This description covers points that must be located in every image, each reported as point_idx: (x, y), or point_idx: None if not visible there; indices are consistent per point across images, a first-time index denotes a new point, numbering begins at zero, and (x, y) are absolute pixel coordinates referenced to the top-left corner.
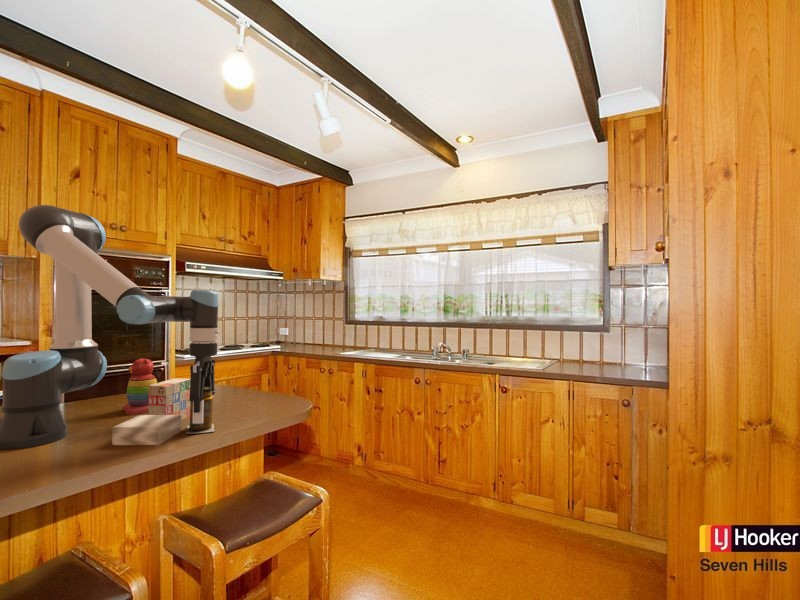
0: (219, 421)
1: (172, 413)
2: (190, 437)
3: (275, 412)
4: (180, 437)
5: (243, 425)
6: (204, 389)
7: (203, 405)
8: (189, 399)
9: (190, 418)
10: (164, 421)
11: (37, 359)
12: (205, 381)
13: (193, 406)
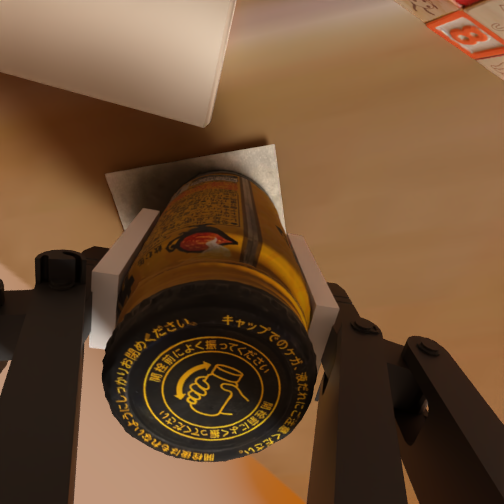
0: None
1: (460, 7)
2: (75, 198)
3: (407, 479)
4: (80, 145)
5: None
6: (125, 425)
7: None
8: (37, 258)
9: (186, 193)
10: (12, 32)
11: None
12: (322, 464)
13: (109, 255)
